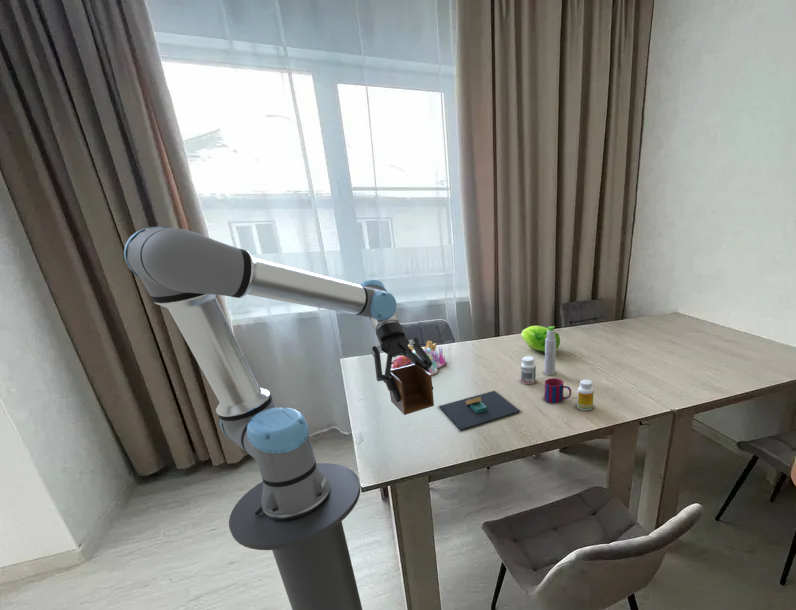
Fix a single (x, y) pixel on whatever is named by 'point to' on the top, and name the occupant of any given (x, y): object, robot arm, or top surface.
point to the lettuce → (537, 337)
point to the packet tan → (473, 400)
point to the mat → (469, 418)
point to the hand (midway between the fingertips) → (415, 395)
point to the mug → (555, 390)
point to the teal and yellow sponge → (478, 407)
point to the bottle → (550, 351)
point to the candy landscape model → (429, 350)
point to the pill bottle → (528, 370)
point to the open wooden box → (412, 388)
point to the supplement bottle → (585, 395)
